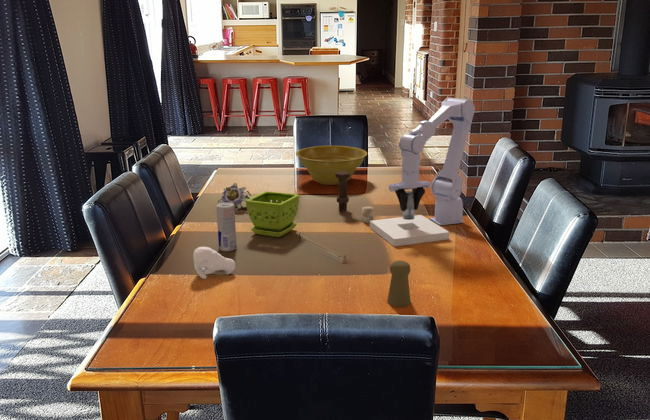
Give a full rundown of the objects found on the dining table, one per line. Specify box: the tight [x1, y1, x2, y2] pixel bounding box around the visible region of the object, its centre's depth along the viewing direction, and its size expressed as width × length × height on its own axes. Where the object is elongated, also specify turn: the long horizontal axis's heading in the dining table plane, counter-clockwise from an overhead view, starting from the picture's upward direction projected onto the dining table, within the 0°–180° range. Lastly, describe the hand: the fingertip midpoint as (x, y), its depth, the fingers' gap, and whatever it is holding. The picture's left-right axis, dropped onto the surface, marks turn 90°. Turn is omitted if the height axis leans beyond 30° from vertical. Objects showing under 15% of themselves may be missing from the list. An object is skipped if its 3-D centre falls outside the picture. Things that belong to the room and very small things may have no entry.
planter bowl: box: [295, 145, 368, 186], centre depth 272 cm, size 32×32×13 cm
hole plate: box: [369, 214, 450, 247], centre depth 205 cm, size 20×20×2 cm
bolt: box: [336, 171, 350, 212], centre depth 229 cm, size 6×5×15 cm
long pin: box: [402, 190, 416, 220], centre depth 203 cm, size 4×4×9 cm
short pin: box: [361, 205, 374, 224], centre depth 218 cm, size 4×4×5 cm
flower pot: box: [245, 191, 300, 238], centre depth 206 cm, size 14×14×13 cm
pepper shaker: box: [386, 260, 412, 308], centre depth 153 cm, size 6×6×11 cm
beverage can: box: [216, 202, 237, 253], centre depth 190 cm, size 6×6×15 cm
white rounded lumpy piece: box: [192, 246, 236, 280], centre depth 172 cm, size 6×8×12 cm
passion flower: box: [217, 182, 252, 209], centre depth 234 cm, size 11×11×12 cm
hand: (409, 209), depth 203 cm, fingers closed on long pin, 4 cm apart
